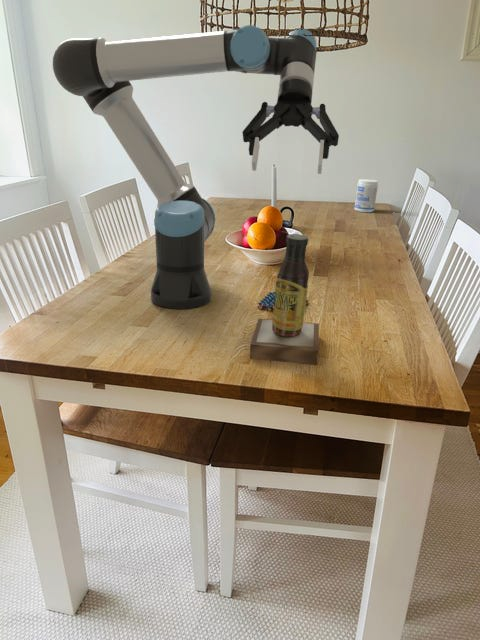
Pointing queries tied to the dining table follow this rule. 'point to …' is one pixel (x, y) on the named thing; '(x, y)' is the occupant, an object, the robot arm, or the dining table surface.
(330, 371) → the dining table surface
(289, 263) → the sauce bottle
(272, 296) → the woven mat
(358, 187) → the supplement tub
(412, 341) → the dining table surface
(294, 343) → the walnut plinth
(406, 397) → the dining table surface
